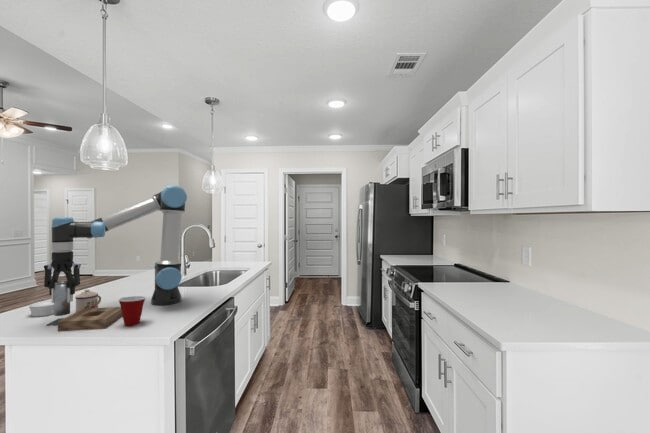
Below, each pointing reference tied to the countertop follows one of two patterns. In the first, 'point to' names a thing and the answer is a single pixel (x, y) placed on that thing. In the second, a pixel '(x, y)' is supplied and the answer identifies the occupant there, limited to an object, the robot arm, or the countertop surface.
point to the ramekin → (42, 308)
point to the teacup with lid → (87, 300)
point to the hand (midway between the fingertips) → (62, 301)
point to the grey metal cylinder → (61, 298)
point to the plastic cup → (131, 309)
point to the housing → (90, 319)
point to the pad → (54, 322)
